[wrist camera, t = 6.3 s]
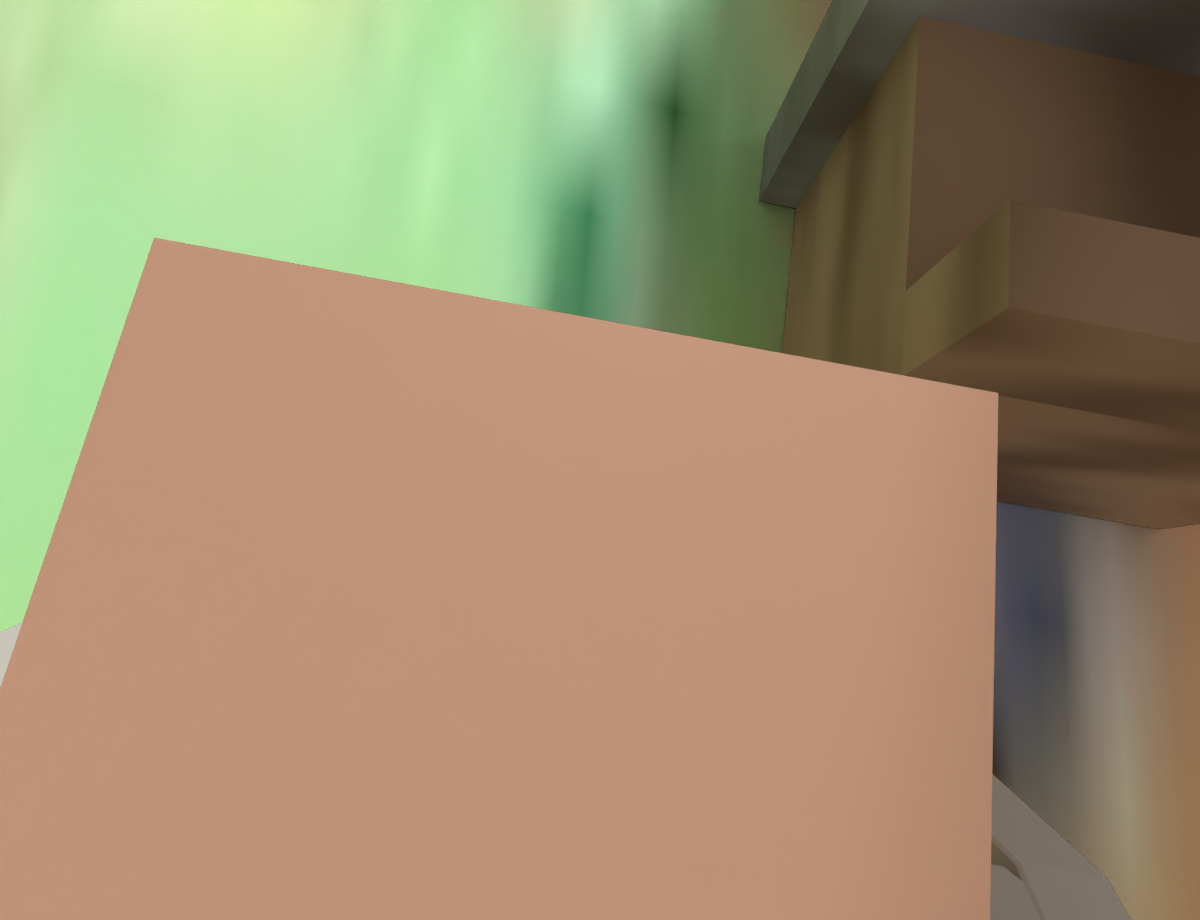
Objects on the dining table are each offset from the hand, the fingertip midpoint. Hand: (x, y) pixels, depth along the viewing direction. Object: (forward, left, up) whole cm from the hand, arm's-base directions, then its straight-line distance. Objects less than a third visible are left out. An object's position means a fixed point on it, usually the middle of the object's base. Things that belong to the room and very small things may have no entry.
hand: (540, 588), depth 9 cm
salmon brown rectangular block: (0, -1, -7) cm, 7 cm away
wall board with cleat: (+10, +8, -7) cm, 15 cm away
